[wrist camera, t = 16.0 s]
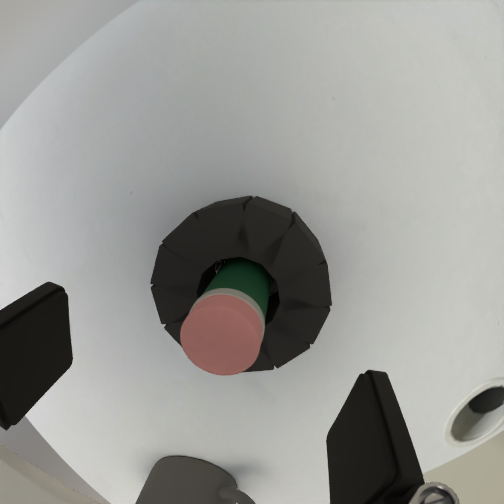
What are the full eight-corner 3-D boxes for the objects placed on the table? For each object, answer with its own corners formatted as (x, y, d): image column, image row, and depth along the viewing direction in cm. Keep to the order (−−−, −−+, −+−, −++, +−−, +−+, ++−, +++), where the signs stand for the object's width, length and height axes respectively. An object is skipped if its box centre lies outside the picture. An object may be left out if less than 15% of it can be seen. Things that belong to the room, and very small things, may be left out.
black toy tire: (150, 260, 20) (121, 280, 16) (256, 165, 18) (247, 164, 14) (241, 359, 21) (231, 395, 17) (351, 283, 19) (365, 310, 15)
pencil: (212, 267, 19) (162, 333, 11) (250, 236, 19) (221, 288, 11) (245, 304, 20) (217, 388, 12) (284, 276, 19) (278, 351, 11)
